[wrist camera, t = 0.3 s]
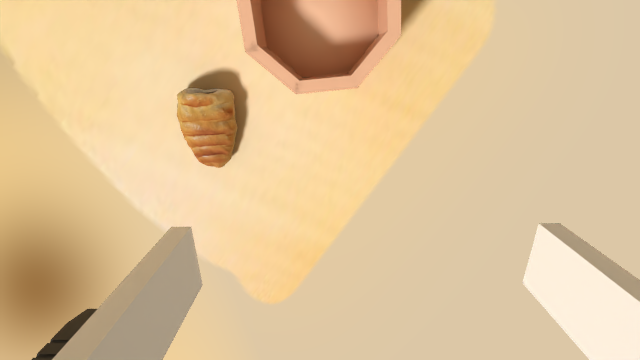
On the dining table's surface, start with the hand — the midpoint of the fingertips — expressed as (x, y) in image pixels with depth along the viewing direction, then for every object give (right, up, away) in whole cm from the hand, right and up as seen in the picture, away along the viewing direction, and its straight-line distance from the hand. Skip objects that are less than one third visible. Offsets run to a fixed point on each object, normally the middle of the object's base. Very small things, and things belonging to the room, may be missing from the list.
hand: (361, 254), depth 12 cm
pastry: (-14, +10, +26) cm, 31 cm away
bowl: (-2, +20, +21) cm, 29 cm away
